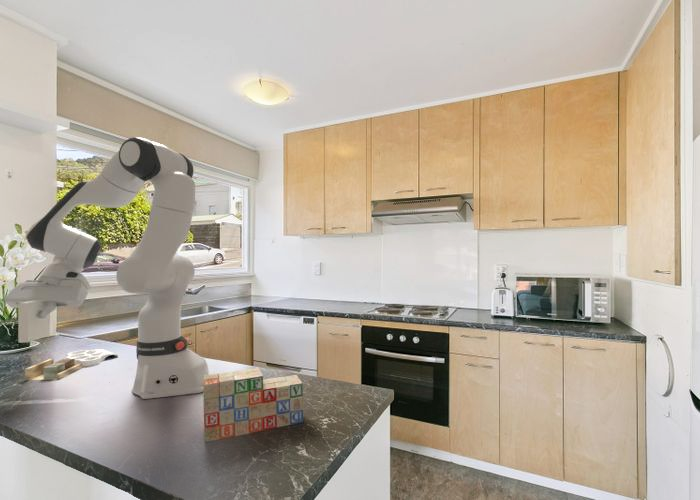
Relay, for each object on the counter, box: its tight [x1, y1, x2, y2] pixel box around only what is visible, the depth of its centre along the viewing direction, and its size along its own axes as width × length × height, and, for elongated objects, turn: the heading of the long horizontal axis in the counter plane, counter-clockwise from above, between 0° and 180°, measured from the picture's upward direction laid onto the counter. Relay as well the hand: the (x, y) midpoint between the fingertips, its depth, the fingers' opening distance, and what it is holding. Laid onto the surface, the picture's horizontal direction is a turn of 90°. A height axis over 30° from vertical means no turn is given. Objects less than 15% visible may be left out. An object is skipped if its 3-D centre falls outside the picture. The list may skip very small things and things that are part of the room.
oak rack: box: [24, 358, 83, 382], centre depth 113 cm, size 10×10×4 cm
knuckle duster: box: [65, 348, 119, 368], centre depth 127 cm, size 3×18×15 cm
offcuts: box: [43, 358, 75, 380], centre depth 113 cm, size 8×4×4 cm, turn 5°
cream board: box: [17, 300, 51, 344], centre depth 102 cm, size 8×2×11 cm, turn 5°
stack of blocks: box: [202, 367, 304, 443], centre depth 80 cm, size 21×6×12 cm, turn 112°
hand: (33, 317), depth 101 cm, fingers closed on cream board, 2 cm apart
